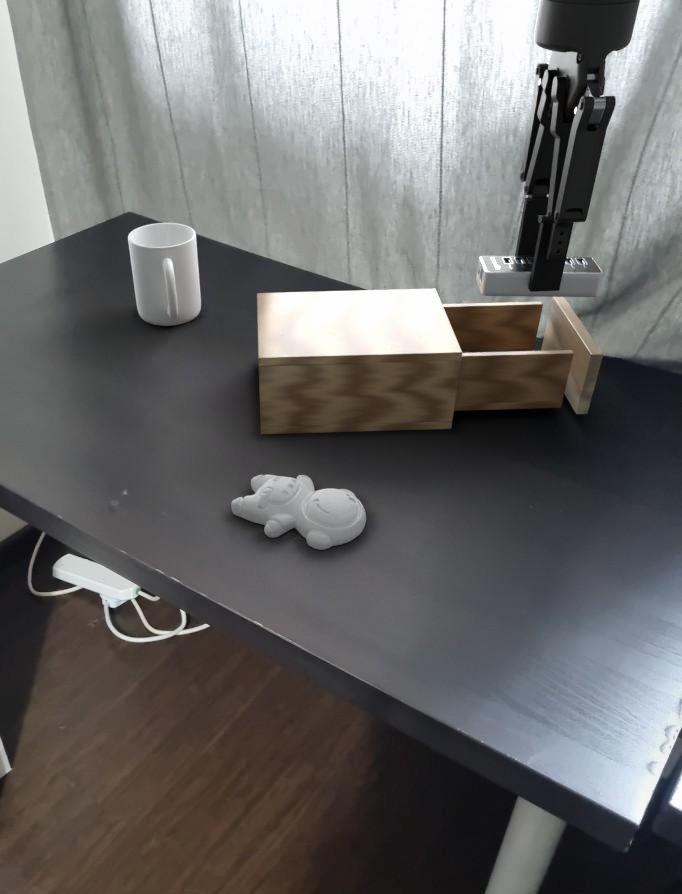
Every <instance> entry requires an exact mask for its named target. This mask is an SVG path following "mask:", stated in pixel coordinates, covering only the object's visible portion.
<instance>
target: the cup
mask: <svg viewBox="0 0 682 894" xmlns="http://www.w3.org/2000/svg"><path fill="white" fill-rule="evenodd" d="M127 243H128V250H129V257H130V266H131V272H132V281H133V287H134V296H135V303H136V310H137V313H138V316H139V317H140V319H142V320H143V321H144V322H146V323H148V324H151V325H155V326H161V327H171V326H179V325H182V324H183V325H184V324H186V323H190V322H191V321H193V320H194V319H196V318H197V317H198V316H199V314H200V312H201V309H202V296H201V284H200V283H201V282H200V272H199V271H200V270H199V269H200V268H199V258H198V257H199V256H198V245H197V243H198V242H197V232H196V231H195V229H193V228H192V227H191V226H189V225H185V224H183V223H176V222H156V223H149V224H145V225H142V226H139V227H136V228H134V229H132V230H131V231H130V232H129V233H128V235H127Z"/></svg>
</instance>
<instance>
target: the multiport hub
mask: <svg viewBox="0 0 682 894" xmlns="http://www.w3.org/2000/svg"><path fill="white" fill-rule="evenodd" d="M533 260H534V256H515V255H480V256H479V257H478V262H477V263H478V264H477V270H476V277H475V280H476V284H477V286H478V289H479V291H480V294H481V295H482V296H485V297H537V298H539V297H540V298H541V297H542V298H545V297H546V298H552V297H564V298H597V297H599V295H600V294H599V293H600V289H601V285H602V281H603V277H604V274H605V273H604V271H603V269H602V268H601V267H600V265H599V264H598V263H597V261H596V260H595V258H594V257H592V256H572V255H571V256H568V255H567V256H566V261H565V266H564V270H563V275H562V280H561V284H560V289H559V291H537V292H530V290H529V289H528V287H529V281H530V276H531V271H532V265H533Z"/></svg>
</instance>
